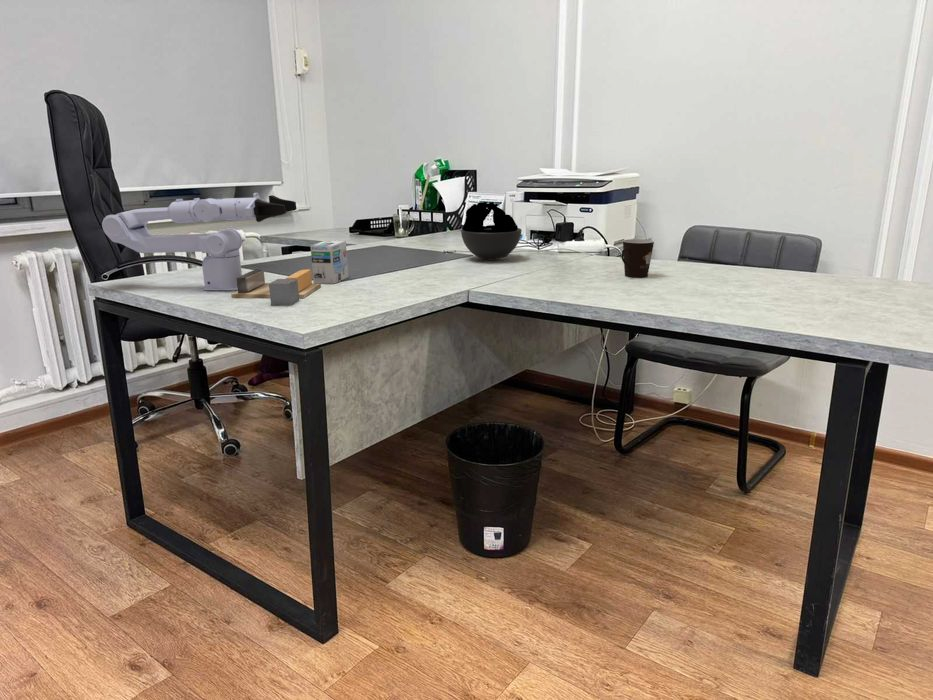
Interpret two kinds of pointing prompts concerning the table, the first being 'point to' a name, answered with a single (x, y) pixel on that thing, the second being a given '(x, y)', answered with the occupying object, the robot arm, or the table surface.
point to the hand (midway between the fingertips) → (290, 207)
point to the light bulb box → (329, 261)
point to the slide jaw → (302, 278)
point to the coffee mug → (637, 257)
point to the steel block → (284, 292)
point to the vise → (262, 286)
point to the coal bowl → (489, 232)
